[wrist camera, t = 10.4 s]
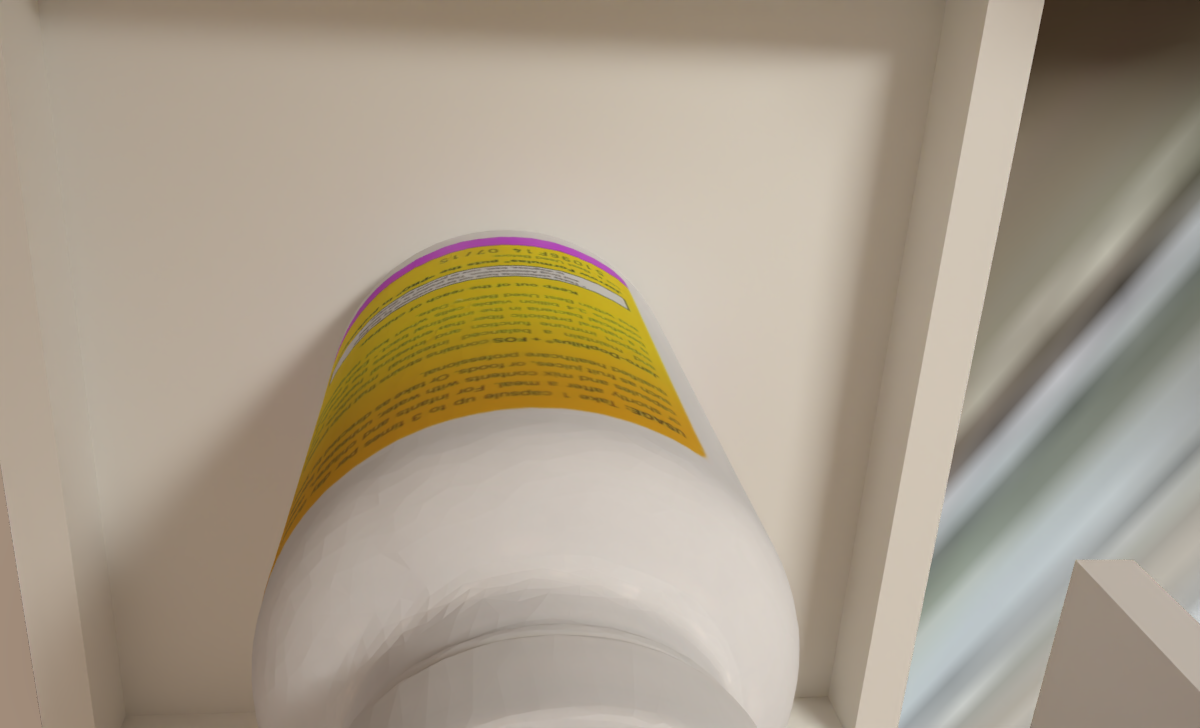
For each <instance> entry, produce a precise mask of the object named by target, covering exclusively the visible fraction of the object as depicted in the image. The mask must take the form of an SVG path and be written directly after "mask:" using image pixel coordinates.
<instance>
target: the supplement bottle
mask: <svg viewBox="0 0 1200 728" xmlns="http://www.w3.org/2000/svg"><path fill="white" fill-rule="evenodd" d="M798 670H799V628H798V622H797V616H796V610H795V605H794V600H793V596H792V592H791V589H790V585H789V582H788V579H787V576H786V573H785V570H784V567H783V564H782V562H781V560H780V558H779V556H778V554H777V552H776V550H775V548H774V546H773V544H772V542H771V540H770V538H769V536H768V534H767V532H766V530H765V528H764V526H763V525H762V523H761V521H760V519H759V517H758V515H757V513H756V511H755V509H754V508H753V506H752V504H751V502H750V500H749V498H748V496H747V494H746V492H745V490H744V489H743V487H742V485H741V483H740V481H739V479H738V477H737V475H736V473H735V471H734V469H733V467H732V465H731V463H730V461H729V459H728V457H727V455H726V453H725V452H724V450H723V448H722V446H721V444H720V442H719V440H718V438H717V436H716V434H715V432H714V430H713V428H712V426H711V424H710V422H709V420H708V418H707V416H706V414H705V412H704V410H703V408H702V407H701V405H700V403H699V401H698V399H697V397H696V395H695V393H694V391H693V389H692V387H691V385H690V383H689V381H688V379H687V377H686V375H685V373H684V371H683V370H682V368H681V366H680V364H679V362H678V360H677V358H676V356H675V354H674V352H673V350H672V348H671V346H670V344H669V342H668V340H667V338H666V336H665V334H664V332H663V330H662V329H661V327H660V325H659V323H658V321H657V319H656V317H655V315H654V314H653V312H652V310H651V308H650V307H649V305H648V304H647V302H646V301H645V300H644V298H643V297H642V295H641V294H640V293H639V292H638V291H637V289H636V288H635V287H634V286H633V285H632V284H631V283H630V282H629V281H628V280H627V279H626V278H625V277H624V276H623V275H622V274H621V273H620V272H619V271H618V270H617V269H615V268H614V267H613V266H611V265H610V264H608V263H607V262H606V261H604V260H603V259H601V258H600V257H598V256H597V255H595V254H594V253H592V252H590V251H588V250H586V249H584V248H582V247H580V246H578V245H576V244H573V243H571V242H568V241H565V240H562V239H560V238H556V237H553V236H549V235H545V234H541V233H535V232H528V231H516V230H495V231H485V232H477V233H470V234H466V235H462V236H458V237H454V238H451V239H448V240H445V241H442V242H439V243H436V244H434V245H432V246H430V247H428V248H426V249H424V250H422V251H420V252H418V253H416V254H415V255H413V256H411V257H410V258H408V259H407V260H405V261H404V262H402V263H401V264H400V265H398V266H397V267H396V268H394V269H393V270H392V271H390V272H389V273H388V274H387V275H386V276H385V277H384V278H383V279H382V280H381V281H380V282H379V283H378V284H377V285H376V286H375V287H374V288H373V289H372V290H371V291H370V293H369V294H368V295H367V296H366V298H365V299H364V300H363V301H362V303H361V304H360V306H359V308H358V309H357V311H356V312H355V314H354V316H353V317H352V319H351V321H350V323H349V325H348V327H347V329H346V331H345V333H344V336H343V338H342V341H341V344H340V347H339V349H338V352H337V355H336V358H335V361H334V365H333V368H332V372H331V375H330V378H329V382H328V385H327V389H326V392H325V396H324V400H323V403H322V406H321V410H320V413H319V416H318V419H317V423H316V426H315V429H314V432H313V436H312V439H311V442H310V445H309V449H308V452H307V455H306V459H305V462H304V465H303V468H302V472H301V475H300V478H299V482H298V485H297V488H296V491H295V495H294V498H293V501H292V505H291V508H290V511H289V515H288V518H287V521H286V524H285V528H284V531H283V534H282V538H281V541H280V544H279V547H278V550H277V553H276V556H275V560H274V563H273V566H272V569H271V572H270V575H269V578H268V582H267V585H266V588H265V591H264V596H263V600H262V604H261V608H260V612H259V615H258V619H257V624H256V629H255V634H254V640H253V650H252V692H253V700H254V707H255V713H256V719H257V723H258V727H259V728H786V726H787V723H788V720H789V717H790V713H791V709H792V705H793V700H794V696H795V691H796V686H797V678H798Z"/></svg>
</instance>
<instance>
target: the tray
mask: <svg viewBox="0 0 1200 728" xmlns="http://www.w3.org/2000/svg"><path fill="white" fill-rule="evenodd" d="M1044 1H1045V0H0V466H1V472H2V479H3V485H4V491H5V498H6V504H7V510H8V517H9V523H10V529H11V535H12V542H13V548H14V553H15V561H16V567H17V573H18V579H19V585H20V592H21V598H22V605H23V610H24V617H25V623H26V630H27V636H28V642H29V648H30V655H31V661H32V667H33V674H34V679H35V685H36V693H37V698H38V705H39V711H40V718H41V724H42V728H259V727H258V723H257V719H256V713H255V707H254V700H253V692H252V650H253V640H254V634H255V629H256V624H257V619H258V615H259V612H260V608H261V604H262V600H263V596H264V591H265V588H266V585H267V582H268V578H269V575H270V572H271V569H272V566H273V563H274V560H275V556H276V553H277V550H278V547H279V544H280V541H281V538H282V534H283V531H284V528H285V524H286V521H287V518H288V515H289V511H290V508H291V505H292V501H293V498H294V495H295V491H296V488H297V485H298V482H299V478H300V475H301V472H302V468H303V465H304V462H305V459H306V455H307V452H308V449H309V445H310V442H311V439H312V436H313V432H314V429H315V426H316V423H317V419H318V416H319V413H320V410H321V406H322V403H323V400H324V396H325V392H326V389H327V385H328V382H329V378H330V375H331V372H332V368H333V365H334V361H335V358H336V355H337V352H338V349H339V347H340V344H341V341H342V338H343V336H344V333H345V331H346V329H347V327H348V325H349V323H350V321H351V319H352V317H353V316H354V314H355V312H356V311H357V309H358V308H359V306H360V304H361V303H362V301H363V300H364V299H365V298H366V296H367V295H368V294H369V293H370V291H371V290H372V289H373V288H374V287H375V286H376V285H377V284H378V283H379V282H380V281H381V280H382V279H383V278H384V277H385V276H386V275H387V274H388V273H389V272H390V271H392V270H393V269H394V268H396V267H397V266H398V265H400V264H401V263H402V262H404V261H405V260H407V259H408V258H410V257H411V256H413V255H415V254H416V253H418V252H420V251H422V250H424V249H426V248H428V247H430V246H432V245H434V244H436V243H439V242H442V241H445V240H448V239H451V238H454V237H458V236H462V235H466V234H470V233H477V232H485V231H495V230H516V231H528V232H535V233H541V234H545V235H549V236H553V237H556V238H560V239H562V240H565V241H568V242H571V243H573V244H576V245H578V246H580V247H582V248H584V249H586V250H588V251H590V252H592V253H594V254H595V255H597V256H598V257H600V258H601V259H603V260H604V261H606V262H607V263H608V264H610V265H611V266H613V267H614V268H615V269H617V270H618V271H619V272H620V273H621V274H622V275H623V276H624V277H625V278H626V279H627V280H628V281H629V282H630V283H631V284H632V285H633V286H634V287H635V288H636V289H637V291H638V292H639V293H640V294H641V295H642V297H643V298H644V300H645V301H646V302H647V304H648V305H649V307H650V308H651V310H652V312H653V314H654V315H655V317H656V319H657V321H658V323H659V325H660V327H661V329H662V330H663V332H664V334H665V336H666V338H667V340H668V342H669V344H670V346H671V348H672V350H673V352H674V354H675V356H676V358H677V360H678V362H679V364H680V366H681V368H682V370H683V371H684V373H685V375H686V377H687V379H688V381H689V383H690V385H691V387H692V389H693V391H694V393H695V395H696V397H697V399H698V401H699V403H700V405H701V407H702V408H703V410H704V412H705V414H706V416H707V418H708V420H709V422H710V424H711V426H712V428H713V430H714V432H715V434H716V436H717V438H718V440H719V442H720V444H721V446H722V448H723V450H724V452H725V453H726V455H727V457H728V459H729V461H730V463H731V465H732V467H733V469H734V471H735V473H736V475H737V477H738V479H739V481H740V483H741V485H742V487H743V489H744V490H745V492H746V494H747V496H748V498H749V500H750V502H751V504H752V506H753V508H754V509H755V511H756V513H757V515H758V517H759V519H760V521H761V523H762V525H763V526H764V528H765V530H766V532H767V534H768V536H769V538H770V540H771V542H772V544H773V546H774V548H775V550H776V552H777V554H778V556H779V558H780V560H781V562H782V564H783V567H784V570H785V573H786V576H787V579H788V582H789V585H790V589H791V592H792V596H793V600H794V605H795V610H796V616H797V622H798V628H799V670H798V678H797V686H796V691H795V696H794V700H793V705H792V709H791V713H790V717H789V720H788V723H787V726H786V728H898V724H899V719H900V714H901V709H902V704H903V699H904V694H905V689H906V684H907V679H908V674H909V669H910V665H911V660H912V655H913V650H914V645H915V640H916V635H917V630H918V625H919V620H920V615H921V610H922V605H923V600H924V595H925V590H926V585H927V580H928V575H929V571H930V566H931V561H932V556H933V551H934V546H935V541H936V536H937V531H938V526H939V521H940V516H941V511H942V506H943V501H944V496H945V491H946V486H947V481H948V476H949V472H950V467H951V462H952V457H953V452H954V447H955V442H956V437H957V432H958V427H959V422H960V417H961V412H962V407H963V402H964V397H965V392H966V387H967V382H968V377H969V373H970V368H971V363H972V358H973V353H974V348H975V343H976V338H977V333H978V328H979V323H980V318H981V313H982V308H983V303H984V298H985V293H986V288H987V283H988V278H989V274H990V269H991V264H992V259H993V254H994V249H995V244H996V239H997V234H998V229H999V224H1000V219H1001V214H1002V209H1003V204H1004V199H1005V194H1006V189H1007V184H1008V179H1009V175H1010V170H1011V165H1012V160H1013V155H1014V150H1015V145H1016V140H1017V135H1018V130H1019V125H1020V120H1021V115H1022V110H1023V105H1024V100H1025V95H1026V90H1027V85H1028V81H1029V76H1030V71H1031V66H1032V61H1033V56H1034V51H1035V46H1036V41H1037V36H1038V31H1039V26H1040V21H1041V16H1042V11H1043V6H1044Z"/></svg>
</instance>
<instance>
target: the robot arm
mask: <svg viewBox="0 0 1200 728" xmlns="http://www.w3.org/2000/svg"><path fill="white" fill-rule="evenodd" d="M1030 728H1200V624H1199V623H1198V622H1197V621H1196V620H1195V619H1194V618H1193V617H1192V616H1191V615H1190V614H1189V613H1188V612H1187V611H1186V610H1185V609H1184V608H1183V607H1182V606H1181V605H1180V604H1179V603H1177V602H1176V601H1175V600H1174V599H1173V598H1172V597H1171V596H1170V595H1169V594H1168V593H1167V592H1166V591H1165V590H1164V589H1163V588H1162V587H1161V586H1160V585H1159V584H1158V583H1157V582H1156V581H1155V580H1154V579H1153V578H1152V577H1151V576H1150V575H1149V574H1148V573H1146V572H1145V571H1144V570H1143V569H1142V568H1141V567H1140V566H1139V565H1138V564H1137V563H1136V562H1135V561H1134V560H1076V561H1075V564H1074V568H1073V572H1072V576H1071V579H1070V583H1069V587H1068V590H1067V594H1066V598H1065V601H1064V605H1063V609H1062V612H1061V616H1060V620H1059V623H1058V627H1057V631H1056V634H1055V638H1054V642H1053V645H1052V649H1051V653H1050V656H1049V660H1048V664H1047V667H1046V671H1045V675H1044V678H1043V682H1042V686H1041V689H1040V693H1039V697H1038V701H1037V704H1036V708H1035V712H1034V715H1033V719H1032V723H1031V726H1030Z"/></svg>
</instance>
